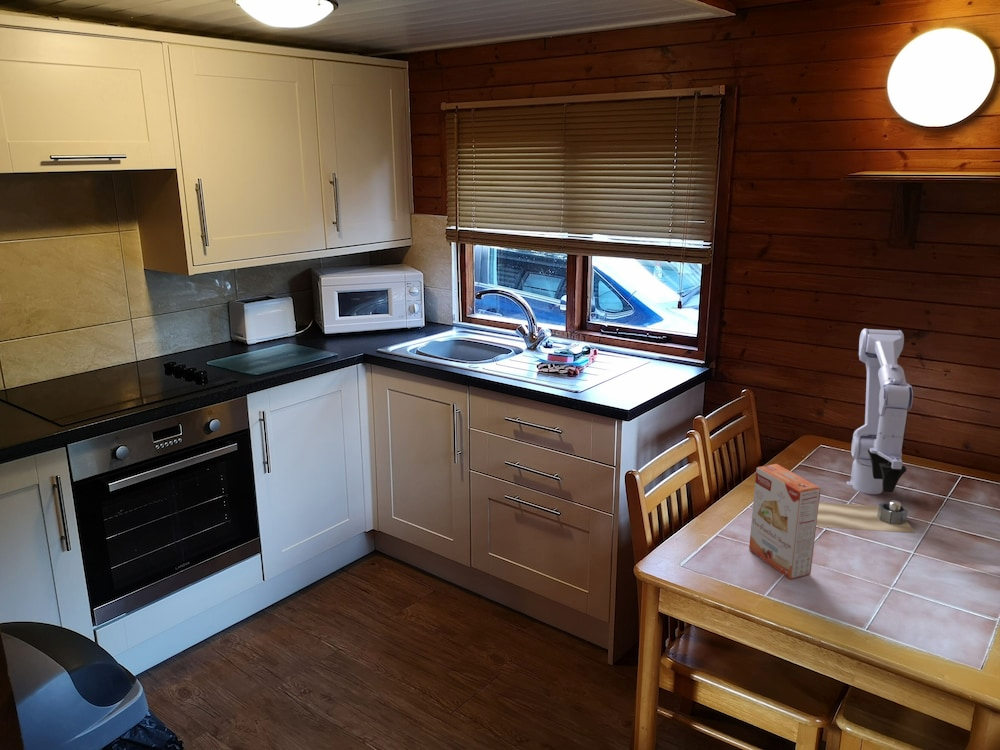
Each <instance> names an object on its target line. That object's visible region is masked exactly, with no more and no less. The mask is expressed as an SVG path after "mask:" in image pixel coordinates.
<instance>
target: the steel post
mask: <svg viewBox="0 0 1000 750" xmlns="http://www.w3.org/2000/svg"><path fill="white" fill-rule="evenodd" d="M889 502H890V505H889V511H892V512H900V506H901V505H902V503H901V501H898V500H895V499H893V500H890V501H889Z"/></svg>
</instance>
